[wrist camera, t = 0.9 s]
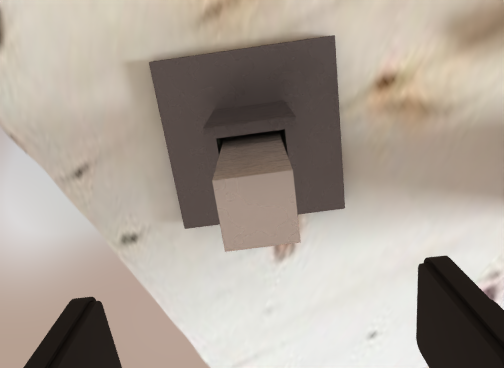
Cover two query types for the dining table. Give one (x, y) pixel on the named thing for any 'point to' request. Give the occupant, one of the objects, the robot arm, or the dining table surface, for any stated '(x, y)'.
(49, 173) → the dining table surface
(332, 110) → the stand housing
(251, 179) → the column
